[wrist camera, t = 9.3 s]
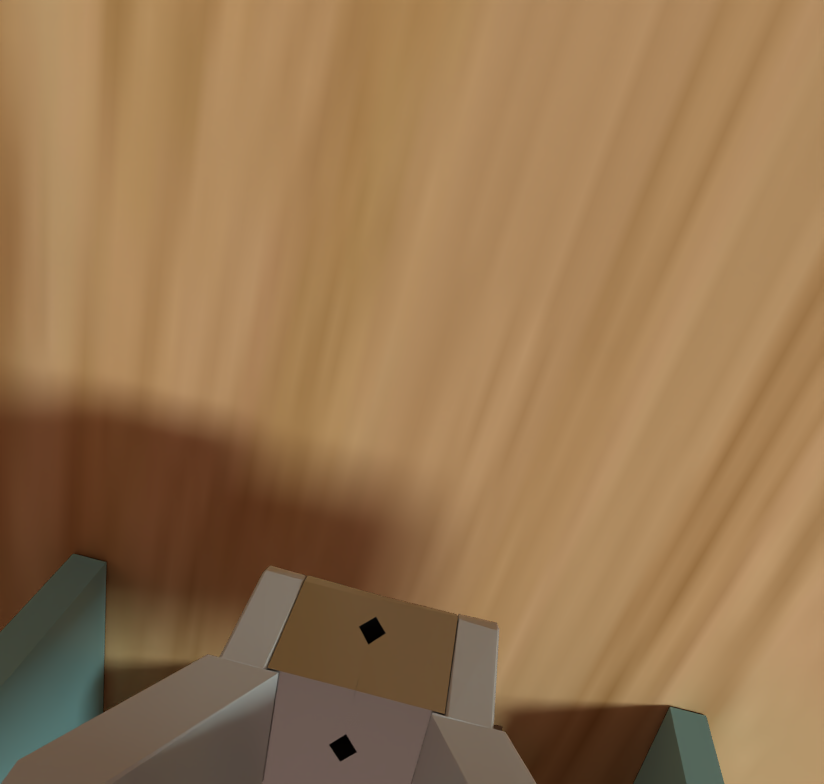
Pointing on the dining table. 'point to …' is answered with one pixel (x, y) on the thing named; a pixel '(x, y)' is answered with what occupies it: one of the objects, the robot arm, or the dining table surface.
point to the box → (84, 681)
